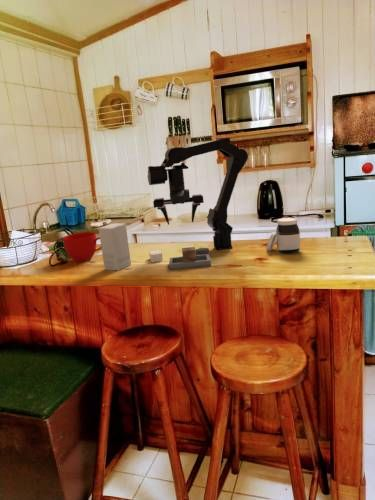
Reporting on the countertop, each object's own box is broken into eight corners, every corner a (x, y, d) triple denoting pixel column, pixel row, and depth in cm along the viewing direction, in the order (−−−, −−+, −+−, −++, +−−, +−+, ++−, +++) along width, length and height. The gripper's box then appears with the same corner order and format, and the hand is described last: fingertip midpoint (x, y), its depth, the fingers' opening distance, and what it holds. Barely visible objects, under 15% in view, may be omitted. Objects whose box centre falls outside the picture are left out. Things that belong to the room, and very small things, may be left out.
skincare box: (118, 263, 151) (113, 222, 147) (132, 264, 147) (127, 222, 144) (103, 270, 144) (97, 227, 140) (117, 271, 141) (111, 227, 137)
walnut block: (195, 260, 142) (194, 246, 141) (196, 264, 138) (195, 249, 136) (183, 261, 142) (181, 248, 141) (183, 265, 138) (182, 251, 136)
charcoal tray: (209, 259, 144) (208, 254, 144) (211, 266, 135) (210, 260, 135) (170, 263, 144) (169, 257, 144) (169, 270, 135) (169, 264, 135)
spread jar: (302, 253, 140) (301, 220, 137) (270, 256, 140) (268, 223, 137) (294, 246, 151) (293, 215, 149) (264, 248, 152) (262, 218, 149)
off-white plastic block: (160, 257, 155) (159, 250, 154) (162, 261, 149) (161, 253, 148) (149, 259, 154) (149, 251, 153) (152, 262, 148) (151, 255, 148)
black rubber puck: (208, 255, 151) (208, 247, 150) (210, 258, 146) (209, 250, 146) (195, 256, 151) (195, 248, 150) (196, 259, 146) (195, 251, 145)
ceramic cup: (100, 263, 154) (96, 237, 152) (60, 264, 158) (56, 240, 156) (113, 254, 167) (109, 231, 164) (75, 256, 170) (72, 233, 168)
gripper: (150, 186, 142) (155, 229, 146) (202, 181, 142) (206, 224, 146) (152, 184, 153) (156, 224, 157) (200, 179, 153) (204, 219, 157)
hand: (180, 223), depth 154 cm, fingers open, 9 cm apart
